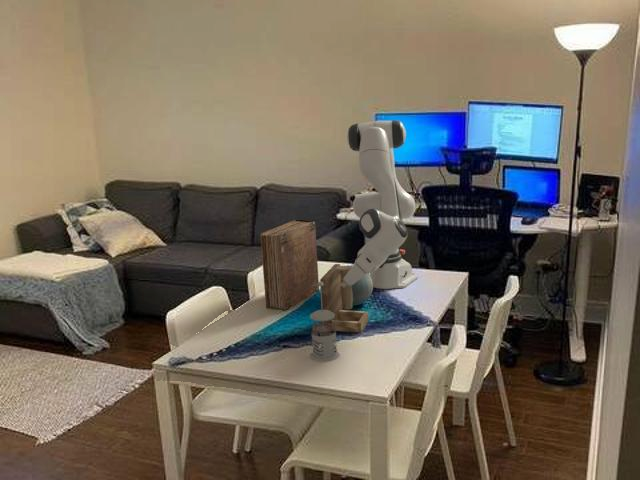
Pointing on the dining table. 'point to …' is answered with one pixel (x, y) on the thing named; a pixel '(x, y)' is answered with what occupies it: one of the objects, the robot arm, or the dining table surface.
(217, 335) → the dining table surface
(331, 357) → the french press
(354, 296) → the decorative ball
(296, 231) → the book
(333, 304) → the cleat board
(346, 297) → the handle
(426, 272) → the dining table surface
